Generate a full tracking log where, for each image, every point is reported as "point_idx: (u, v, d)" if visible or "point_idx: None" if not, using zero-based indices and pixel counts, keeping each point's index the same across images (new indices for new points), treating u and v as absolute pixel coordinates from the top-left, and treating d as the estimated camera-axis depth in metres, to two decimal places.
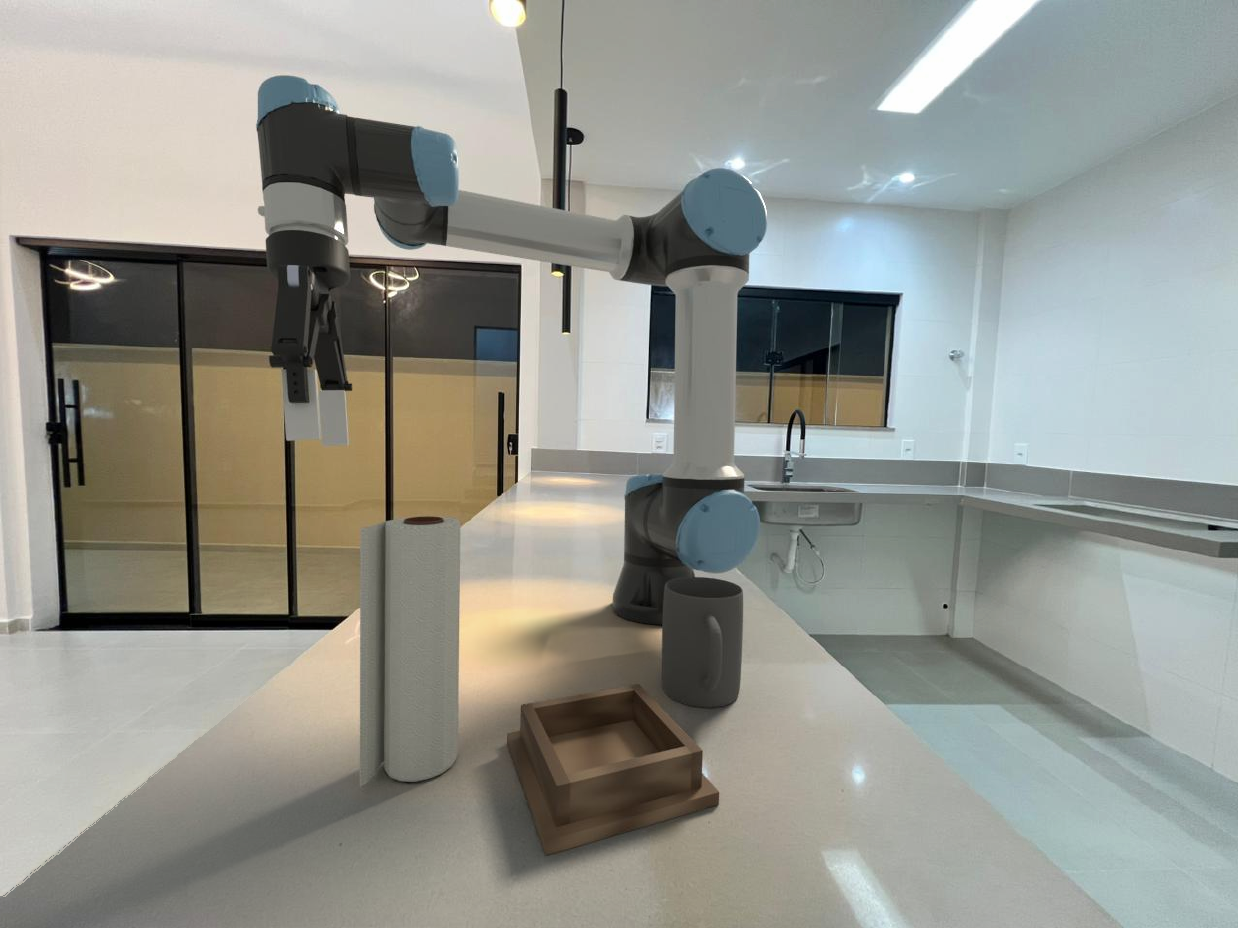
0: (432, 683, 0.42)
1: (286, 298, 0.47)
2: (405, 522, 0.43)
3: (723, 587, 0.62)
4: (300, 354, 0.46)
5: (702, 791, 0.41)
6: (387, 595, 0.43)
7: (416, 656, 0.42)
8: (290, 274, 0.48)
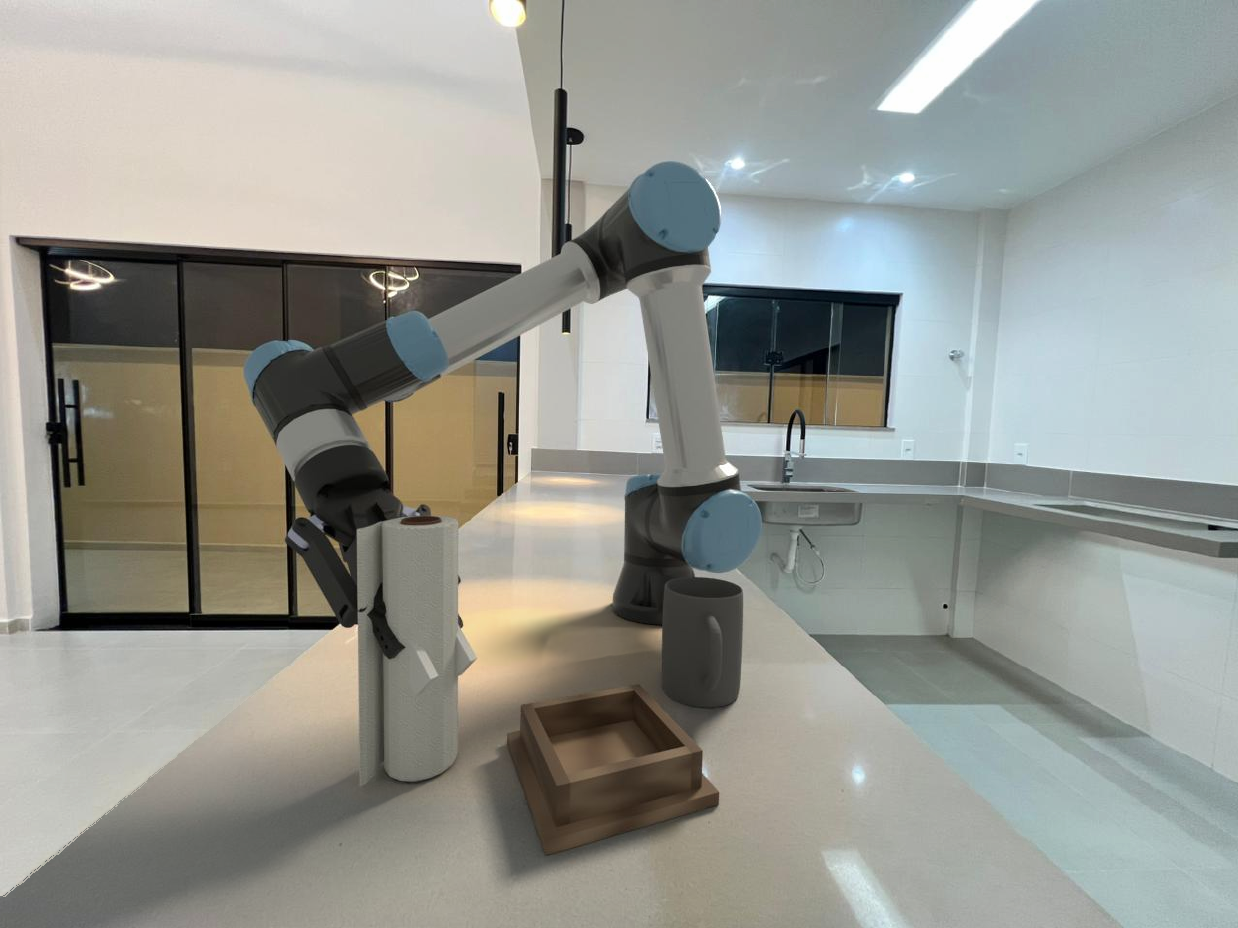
0: (431, 684, 0.42)
1: (313, 565, 0.43)
2: (402, 522, 0.43)
3: (723, 587, 0.63)
4: (357, 613, 0.41)
5: (702, 791, 0.41)
6: (385, 596, 0.42)
7: None
8: (295, 540, 0.43)
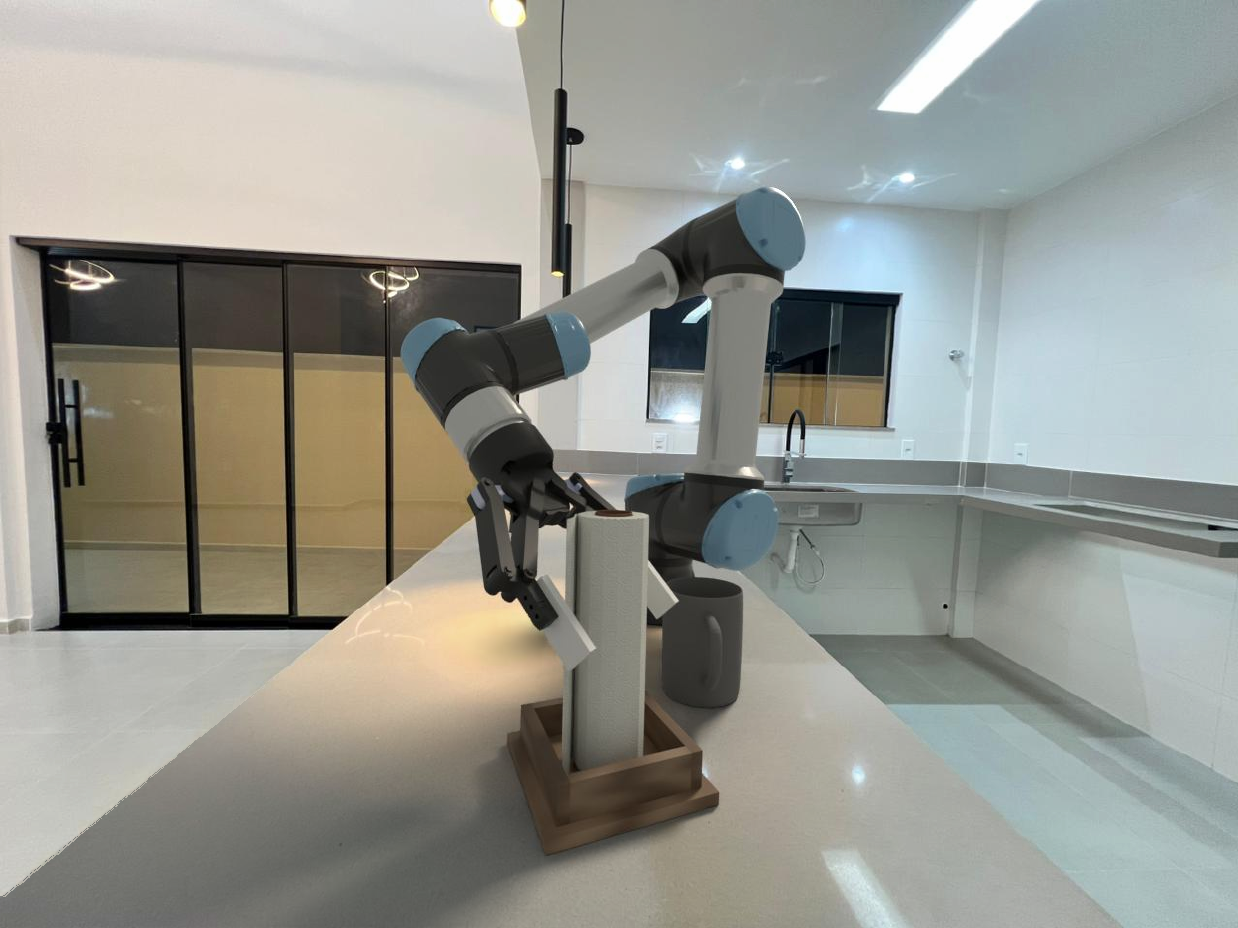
0: (631, 678, 0.42)
1: (481, 525, 0.41)
2: (599, 514, 0.43)
3: (723, 587, 0.62)
4: (506, 578, 0.37)
5: (702, 791, 0.41)
6: (584, 588, 0.42)
7: (617, 650, 0.41)
8: (475, 498, 0.42)
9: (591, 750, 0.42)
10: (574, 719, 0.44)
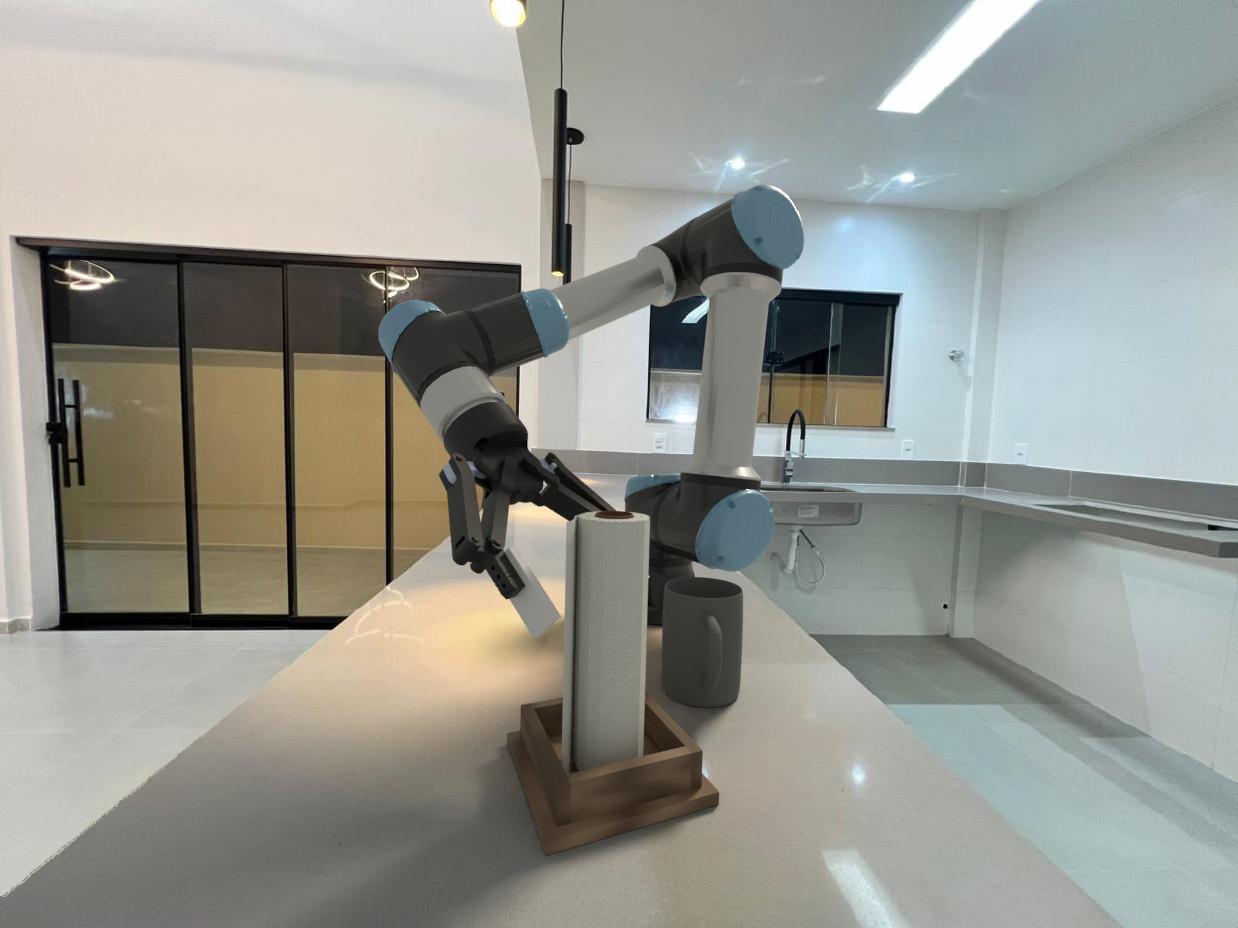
0: (631, 681, 0.42)
1: (452, 498, 0.42)
2: (600, 516, 0.42)
3: (723, 587, 0.62)
4: (473, 548, 0.38)
5: (702, 791, 0.41)
6: (584, 591, 0.42)
7: (617, 653, 0.41)
8: (447, 473, 0.43)
9: (591, 752, 0.42)
10: (574, 720, 0.43)
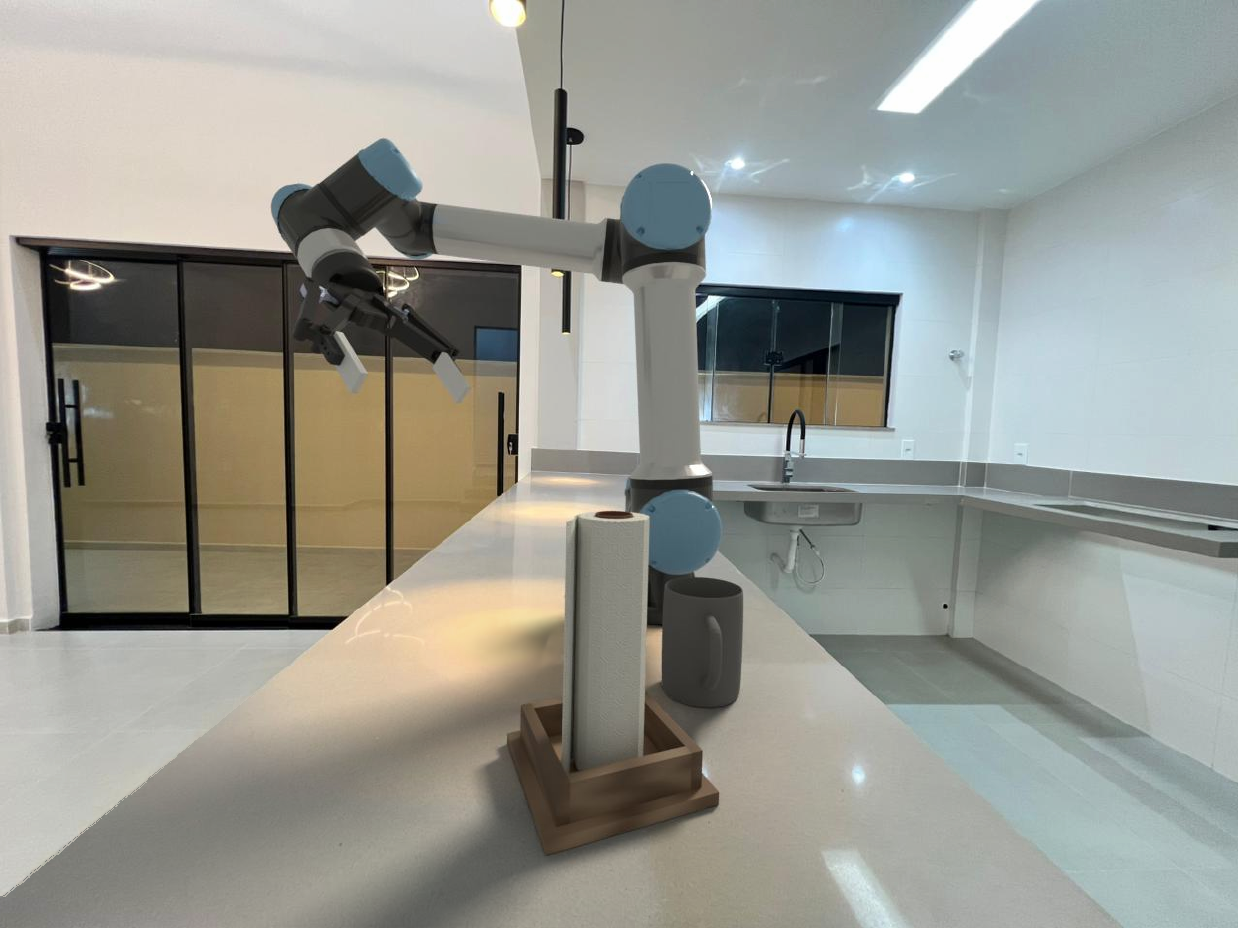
0: (631, 680, 0.42)
1: (302, 305, 0.57)
2: (600, 516, 0.42)
3: (723, 587, 0.62)
4: (305, 324, 0.52)
5: (702, 791, 0.41)
6: (584, 591, 0.42)
7: (617, 653, 0.41)
8: (302, 291, 0.58)
9: (591, 752, 0.42)
10: (574, 720, 0.43)
